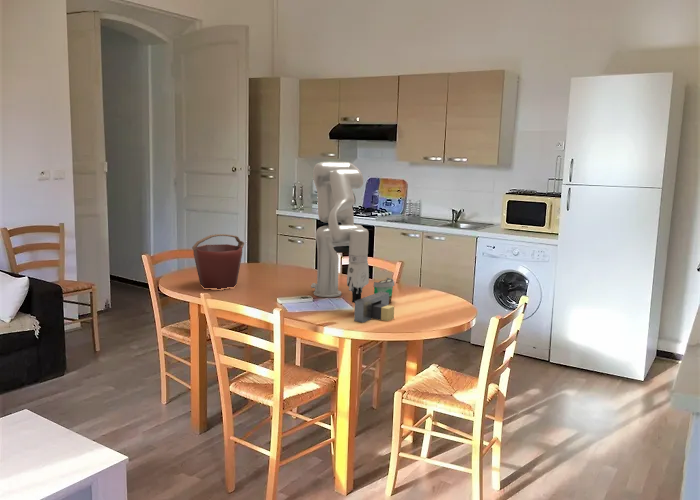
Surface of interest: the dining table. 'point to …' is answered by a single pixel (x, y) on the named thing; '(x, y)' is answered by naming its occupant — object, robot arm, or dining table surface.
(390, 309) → the rod
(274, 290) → the dining table surface
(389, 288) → the food container
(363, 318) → the housing
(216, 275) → the bucket
